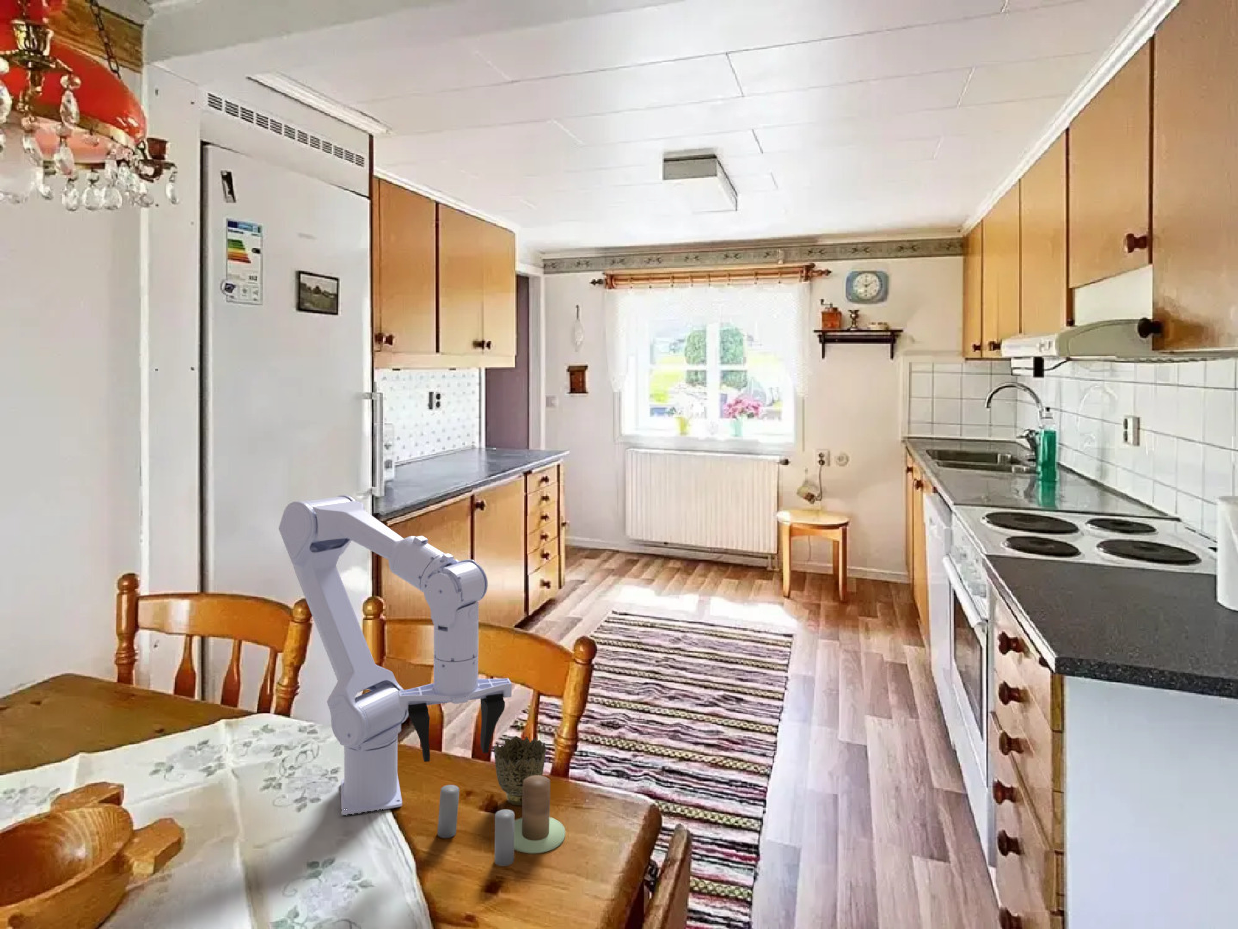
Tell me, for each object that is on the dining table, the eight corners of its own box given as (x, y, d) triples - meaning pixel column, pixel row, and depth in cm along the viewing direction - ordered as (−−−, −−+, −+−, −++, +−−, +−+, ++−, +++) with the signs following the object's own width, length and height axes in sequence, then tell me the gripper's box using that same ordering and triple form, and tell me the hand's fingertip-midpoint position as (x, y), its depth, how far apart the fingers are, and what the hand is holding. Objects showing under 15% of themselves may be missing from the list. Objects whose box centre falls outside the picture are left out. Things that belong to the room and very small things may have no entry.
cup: (520, 781, 112) (521, 730, 112) (555, 799, 108) (557, 746, 107) (482, 801, 107) (483, 747, 106) (517, 821, 102) (518, 765, 101)
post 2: (492, 856, 94) (493, 811, 94) (511, 852, 95) (511, 808, 94) (497, 868, 92) (497, 822, 91) (516, 863, 93) (516, 818, 92)
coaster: (499, 824, 101) (499, 821, 101) (555, 814, 104) (555, 811, 104) (512, 858, 94) (512, 855, 94) (572, 846, 97) (572, 843, 97)
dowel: (519, 827, 100) (520, 777, 99) (545, 822, 101) (546, 773, 100) (525, 842, 97) (526, 791, 96) (552, 837, 98) (553, 787, 97)
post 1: (434, 830, 99) (438, 787, 99) (452, 826, 100) (455, 783, 100) (441, 840, 97) (444, 796, 97) (458, 835, 98) (462, 792, 98)
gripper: (401, 671, 91) (401, 777, 93) (517, 658, 97) (516, 759, 98) (396, 652, 98) (397, 751, 99) (505, 642, 103) (504, 736, 104)
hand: (455, 754), depth 99 cm, fingers open, 7 cm apart
